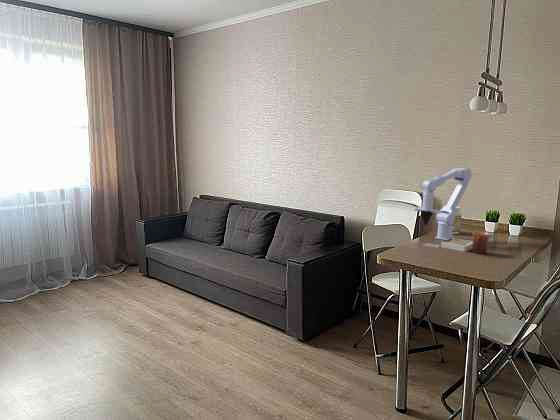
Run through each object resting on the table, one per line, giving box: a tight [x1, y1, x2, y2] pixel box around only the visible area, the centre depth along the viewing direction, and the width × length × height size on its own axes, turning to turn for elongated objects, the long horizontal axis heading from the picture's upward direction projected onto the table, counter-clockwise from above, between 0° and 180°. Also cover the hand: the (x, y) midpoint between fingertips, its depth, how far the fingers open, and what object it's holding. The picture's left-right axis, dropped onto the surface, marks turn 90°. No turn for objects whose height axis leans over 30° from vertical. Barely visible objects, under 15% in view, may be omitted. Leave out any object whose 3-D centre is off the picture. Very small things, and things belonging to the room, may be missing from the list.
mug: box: [471, 231, 491, 255], centre depth 223 cm, size 12×9×10 cm
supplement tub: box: [442, 205, 462, 235], centre depth 275 cm, size 12×12×17 cm
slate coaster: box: [422, 242, 441, 249], centre depth 238 cm, size 8×8×1 cm
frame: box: [440, 237, 473, 253], centre depth 236 cm, size 16×13×3 cm
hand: (426, 224), depth 250 cm, fingers closed
